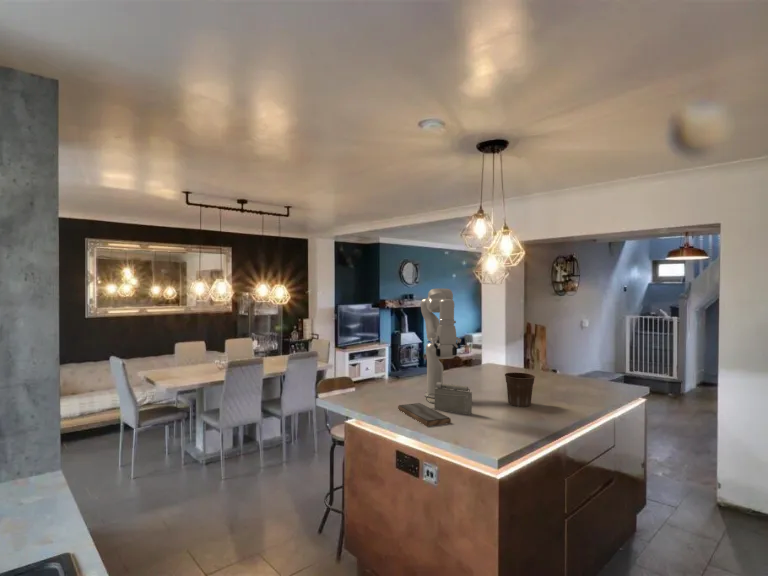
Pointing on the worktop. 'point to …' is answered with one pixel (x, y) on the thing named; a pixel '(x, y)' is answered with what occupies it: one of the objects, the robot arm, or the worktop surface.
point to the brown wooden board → (424, 414)
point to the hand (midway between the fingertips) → (446, 355)
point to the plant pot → (519, 388)
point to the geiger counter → (452, 398)
